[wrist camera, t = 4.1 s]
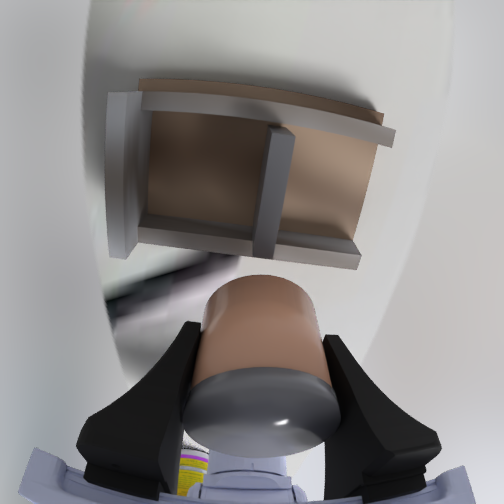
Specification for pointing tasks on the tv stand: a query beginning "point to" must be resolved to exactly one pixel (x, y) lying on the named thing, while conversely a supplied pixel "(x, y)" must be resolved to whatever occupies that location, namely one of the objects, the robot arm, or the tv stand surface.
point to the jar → (260, 372)
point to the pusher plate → (271, 190)
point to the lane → (235, 169)
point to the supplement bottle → (191, 469)
